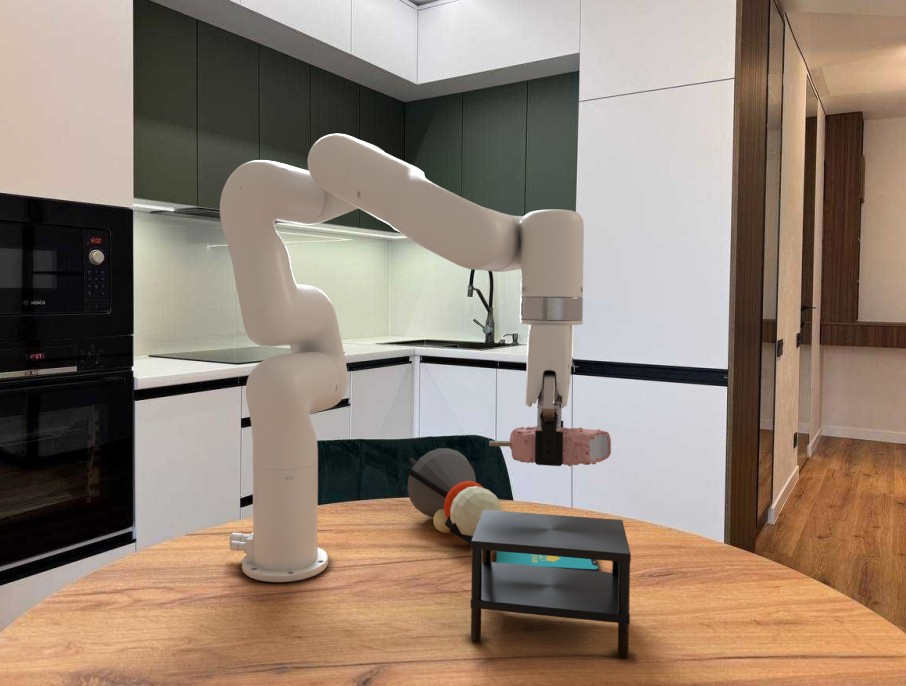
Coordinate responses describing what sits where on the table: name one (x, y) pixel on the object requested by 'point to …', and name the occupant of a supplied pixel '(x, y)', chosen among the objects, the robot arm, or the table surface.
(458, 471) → the toy
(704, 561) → the table surface
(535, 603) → the rack
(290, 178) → the robot arm
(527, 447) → the ice cream bar
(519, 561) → the smartphone
